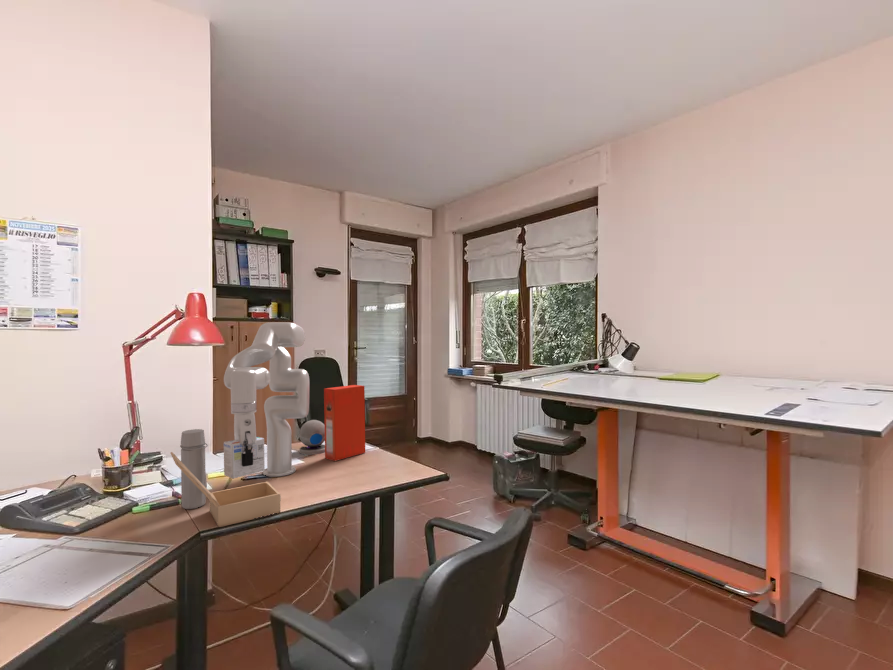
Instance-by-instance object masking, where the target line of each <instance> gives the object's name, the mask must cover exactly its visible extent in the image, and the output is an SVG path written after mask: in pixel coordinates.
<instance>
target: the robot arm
mask: <svg viewBox="0 0 893 670" xmlns="http://www.w3.org/2000/svg"><path fill="white" fill-rule="evenodd" d="M305 341H306V332H305V330H304V328H303V327H302V326H300V325H298V324H297V323H294V322H289V321H287V322H286V321H284V322H283V321H282V322H280V321H278V322H275V321H272V322H271V321H269V322H264V323H262V324H261V325H260V326H259V327H258V330H257V332H256V335H254V338H253V342H252V344H251V346H250V345H249V346H248V347H246V348H245V349H243V350H242V351H240V352H238V353H236V354H235V355H234V356H233V357H231V359H230V361H229V362H228V364H227V367H226V369H225V372H224V375H223V384H224V386H225V387H226V388H227V389H229V390H230V414H231V415H233V416H234V418H233V422H234V423H233V436H234V440H237V441H238V442H239V443H240V445H242V450H243V454H242V466H243V467H244V466H250V465H253V447H252V442H253V443H254V444H255V443H256V442H257V440H256V436H257V426H256V415H255V413H257V412H258V411H257V409H258V408H257V407H258V406H257V390H263V389H265V388H266V387H269V389H270V391H271V392H275V393H296V394H293V395H291V394H290V395H288V394H286V395H282V394H281V395H272V396H269V397H268V398H266V399H265V401H264V404H263V409H264V410H263V412H264V414H265V423H266V462H267V463H266V467H265V471H262V474H263V475H264V476H265V475H266V477H271V478H275V477H277V478H278V477H284V476H289V475H292V474H293V473H295V472H296V470H297V467H296V466H295V465H292V464H293V463H292V462H293V456H292V455H293V454H292V450H293V449H292V448H293V447H292V428H291V425H290V424H289V422H288V420H289V419H294V420H295V419H304V418H307V416H308V415H309V412H310V376H309V375H310V374H309V373H308V371H307V370H305V369H304V368H292V356H291V353H289V351H288V350H287V349H286V348H299V347H301V346H303V345H304V343H305ZM267 362H269V368H268V369H267V368H265V367H263V366H258V365H261V364H263V363H267ZM268 385H269V386H268ZM244 442H247V443H244ZM245 446H246V447H245Z"/></svg>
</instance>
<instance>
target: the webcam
mask: <svg viewBox="0 0 893 670" xmlns="http://www.w3.org/2000/svg"><path fill="white" fill-rule="evenodd" d="M298 432H299V434H298V435H299V440H300V441H301V443H302V444H303V445H304V446H301V447H299V449H298V450H299V453H300V454H302V455H318V454H319V455H320V454H323V453H325V444H324V443H325V423H323V422H322V421H320V420H317V419H311V420H308V421H305V423H303V424H302V425H301V427H300V430H299V431H298Z"/></svg>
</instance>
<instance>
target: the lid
mask: <svg viewBox="0 0 893 670" xmlns="http://www.w3.org/2000/svg"><path fill="white" fill-rule="evenodd" d="M170 456H171V458H172V460H173V462H174V464H175V465H176V467H178V469H179V470H180V471H181V470H182V471H183V472H184V474H185V475H186V476H187V477H188V478H189V479H190V480H191V481H192V482H193V483H194V484H195V485H196V486H197V487H198V488H199V489H200V490H201V491H202V493H203V494H204V495H205V496H206V499H208V500H209V502H210V501H211V502H212V503H213V504H214V505H215V506H216V507H218V505H217V503H216V502H215V500H214V498H213V497H212V495H211V492H210V491H209V490H208V488H207V489H206V487H205V486H204V485H203V484H202V483H201V482H200V481H199V480H198V479H197V478H196V477H195V476H194V475H193V474H192V473H191V472H190V470H189V469H188V468H187V467H186V466H185V465H184V464H183V463H182V462H181V459H180V458H178V456H176V454H175V453H174V452H173V451H171V452H170Z"/></svg>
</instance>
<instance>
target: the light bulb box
mask: <svg viewBox="0 0 893 670" xmlns="http://www.w3.org/2000/svg"><path fill="white" fill-rule="evenodd" d="M256 440H257V442H256V443H255V444H254V443H253V442H252V447H253V465H250V466H244V467H243V466H242V454H243V450H242V445H240V443H239V442H238V441H237V440H235V439H233V440H227V441H223V474H224V476H225V477H228V478H230V479H232V480H233V479H238V478H241V477H245V476H250V475H253V474H257V473H261V472H262V473H263V471H265V469H266V467H265V464H266V463H265V438H264V437H260V436H257V435H256ZM244 443H247V442H244ZM245 447H246V446H245Z"/></svg>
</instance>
